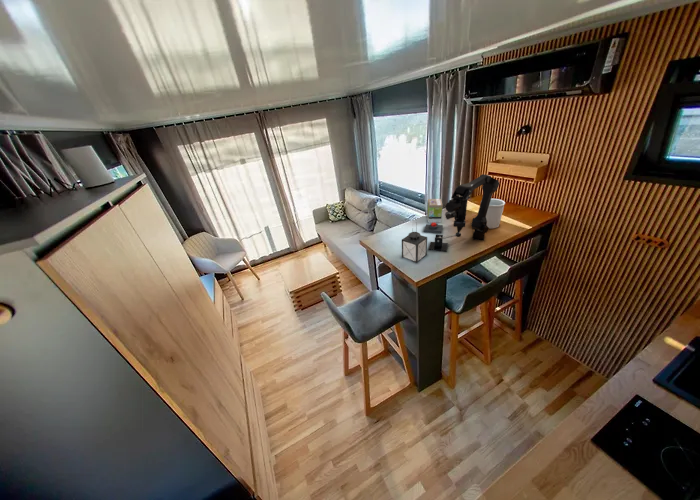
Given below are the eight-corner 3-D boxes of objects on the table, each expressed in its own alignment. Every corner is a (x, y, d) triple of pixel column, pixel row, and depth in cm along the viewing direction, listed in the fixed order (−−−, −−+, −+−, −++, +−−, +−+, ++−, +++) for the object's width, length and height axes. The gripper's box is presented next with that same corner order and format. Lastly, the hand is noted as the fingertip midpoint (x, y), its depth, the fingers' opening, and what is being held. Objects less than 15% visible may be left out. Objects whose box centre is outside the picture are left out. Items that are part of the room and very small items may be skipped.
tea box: (441, 222, 195) (442, 204, 188) (428, 223, 198) (428, 205, 190) (439, 215, 208) (440, 197, 200) (426, 215, 210) (427, 198, 203)
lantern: (416, 263, 152) (417, 221, 138) (401, 257, 160) (401, 217, 145) (426, 255, 159) (428, 214, 144) (411, 250, 166) (412, 210, 152)
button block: (442, 227, 188) (442, 222, 186) (441, 233, 180) (441, 228, 178) (426, 226, 193) (426, 221, 191) (424, 232, 185) (424, 227, 183)
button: (436, 224, 185) (436, 222, 184) (435, 226, 183) (436, 224, 182) (431, 224, 187) (431, 222, 186) (430, 226, 184) (430, 224, 183)
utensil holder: (485, 218, 192) (488, 196, 184) (504, 224, 181) (509, 201, 172) (473, 224, 186) (476, 202, 177) (492, 230, 175) (497, 207, 166)
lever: (461, 235, 156) (460, 230, 155) (461, 237, 154) (460, 232, 152) (437, 240, 164) (436, 236, 163) (437, 242, 162) (435, 238, 161)
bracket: (447, 244, 167) (448, 233, 162) (446, 252, 159) (447, 240, 155) (430, 243, 171) (431, 232, 167) (428, 250, 163) (428, 239, 159)
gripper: (447, 201, 156) (446, 223, 164) (445, 212, 142) (443, 237, 150) (467, 201, 152) (464, 225, 160) (466, 213, 138) (463, 238, 145)
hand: (458, 231), depth 154 cm, fingers open, 3 cm apart
